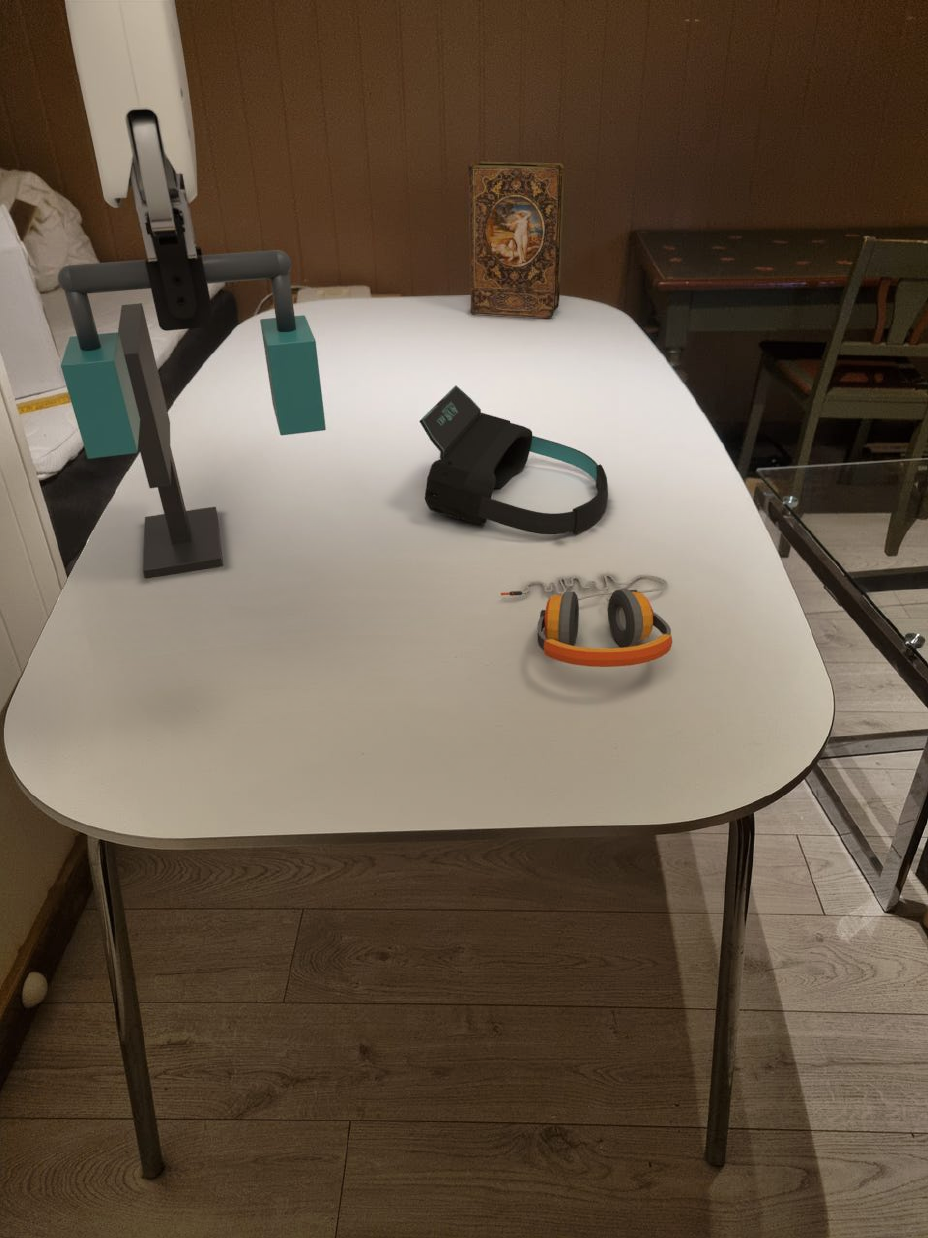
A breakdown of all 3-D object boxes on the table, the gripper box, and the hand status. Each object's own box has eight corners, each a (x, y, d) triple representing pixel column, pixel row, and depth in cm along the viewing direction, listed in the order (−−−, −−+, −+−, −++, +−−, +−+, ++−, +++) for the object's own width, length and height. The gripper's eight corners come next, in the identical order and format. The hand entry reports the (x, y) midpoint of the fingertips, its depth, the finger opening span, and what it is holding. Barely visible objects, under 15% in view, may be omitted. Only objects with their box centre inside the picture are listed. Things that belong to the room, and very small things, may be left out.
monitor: (144, 588, 88) (78, 359, 74) (147, 516, 101) (90, 307, 87) (223, 575, 90) (173, 348, 76) (216, 505, 102) (172, 299, 88)
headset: (87, 459, 54) (35, 279, 47) (94, 425, 58) (46, 256, 52) (326, 430, 57) (306, 258, 50) (315, 400, 61) (295, 238, 55)
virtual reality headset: (454, 446, 112) (465, 373, 105) (615, 494, 108) (636, 422, 101) (397, 511, 97) (406, 431, 91) (581, 570, 93) (602, 490, 87)
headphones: (661, 548, 87) (721, 625, 69) (658, 596, 89) (716, 684, 71) (497, 555, 87) (513, 634, 69) (498, 603, 89) (514, 693, 71)
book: (467, 314, 162) (465, 166, 147) (475, 305, 166) (473, 161, 151) (553, 319, 158) (559, 168, 143) (558, 310, 162) (565, 163, 148)
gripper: (50, -46, 48) (129, 293, 59) (7, -64, 36) (117, 370, 46) (188, -46, 49) (240, 284, 60) (192, -64, 37) (257, 356, 48)
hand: (186, 319), depth 53 cm, fingers closed on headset
